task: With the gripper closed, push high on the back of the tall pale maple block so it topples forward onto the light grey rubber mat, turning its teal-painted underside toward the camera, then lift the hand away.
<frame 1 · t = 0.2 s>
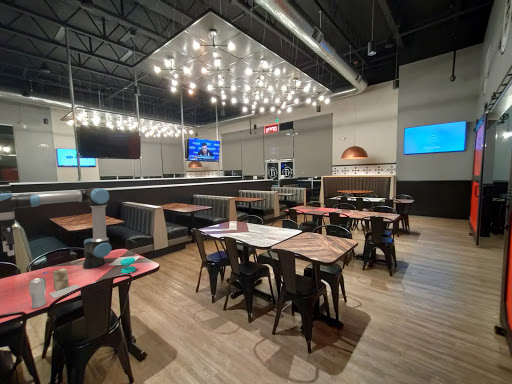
hand: (9, 253, 136), 28 cm above the table, fingers open, 13 cm apart
maple block: (61, 287, 148), on the table
grey mat: (65, 291, 143), on the table
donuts: (128, 272, 171), on the table
beer glass: (39, 305, 128), on the table
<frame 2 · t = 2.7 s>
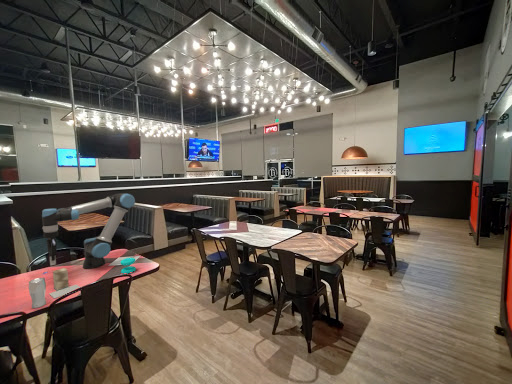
hand: (53, 264, 154), 13 cm above the table, fingers closed
nothing on the table moved.
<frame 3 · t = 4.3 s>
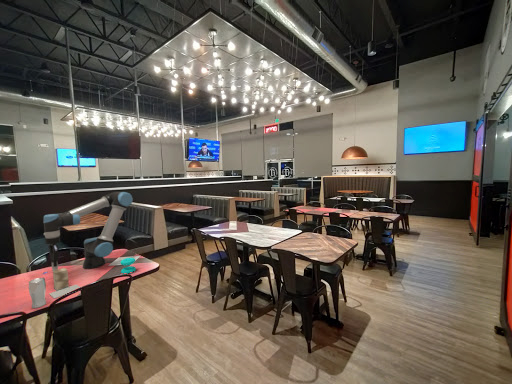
hand: (55, 270, 153), 9 cm above the table, fingers closed
nothing on the table moved.
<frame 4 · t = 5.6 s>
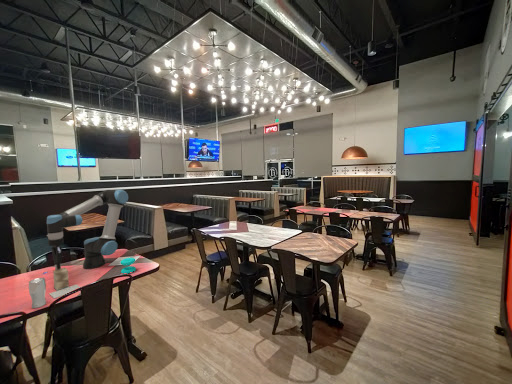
hand: (58, 273, 149), 10 cm above the table, fingers closed
maple block: (61, 287, 148), on the table, touching gripper
everything else where it was.
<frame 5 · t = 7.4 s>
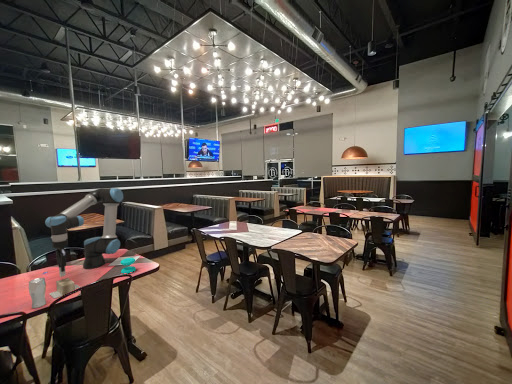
hand: (62, 275, 144), 9 cm above the table, fingers closed
maple block: (62, 284, 146), point 3 cm above the table, tilted 90°, touching grey mat
everything else where it was.
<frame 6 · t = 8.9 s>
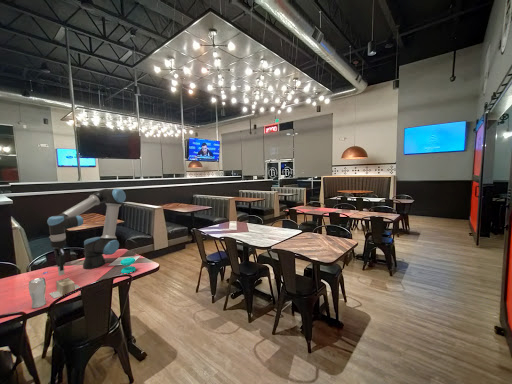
hand: (61, 274, 147), 9 cm above the table, fingers closed
nothing on the table moved.
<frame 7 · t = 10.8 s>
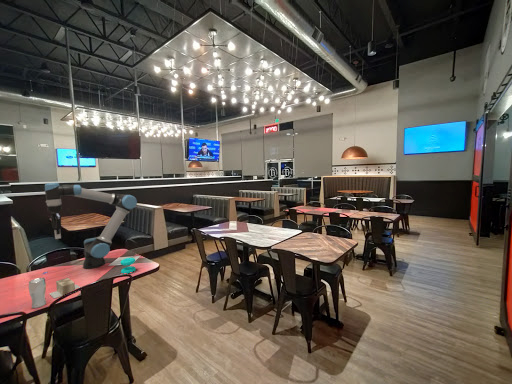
hand: (58, 238, 156), 31 cm above the table, fingers closed
nothing on the table moved.
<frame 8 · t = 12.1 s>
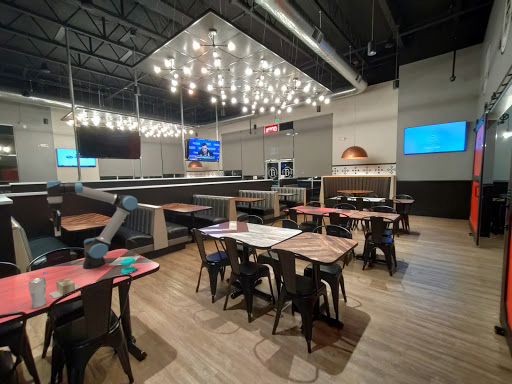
hand: (58, 235, 157), 32 cm above the table, fingers closed
nothing on the table moved.
at the end: maple block tilted 90°; maple block touching grey mat; beer glass moved 0.2 cm from its start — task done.
